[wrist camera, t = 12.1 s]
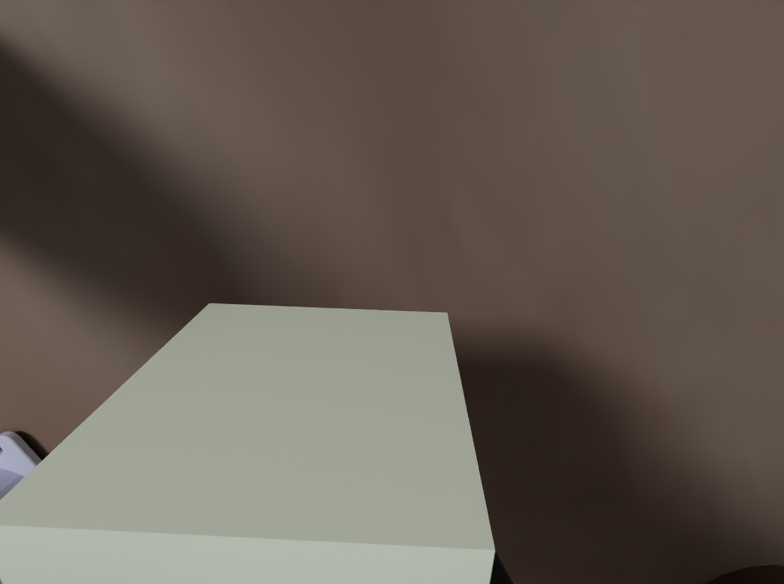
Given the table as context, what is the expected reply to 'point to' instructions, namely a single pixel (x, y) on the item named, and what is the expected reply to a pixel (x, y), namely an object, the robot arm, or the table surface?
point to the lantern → (754, 576)
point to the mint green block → (266, 462)
